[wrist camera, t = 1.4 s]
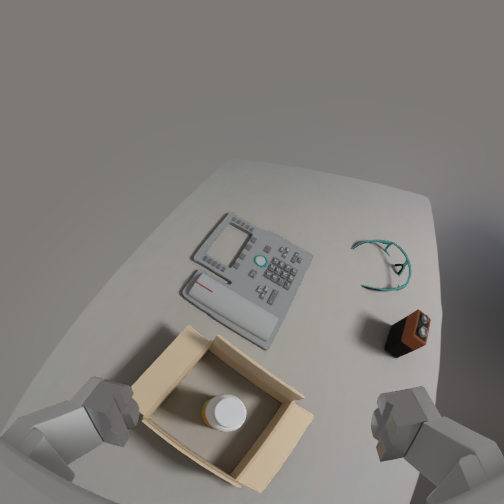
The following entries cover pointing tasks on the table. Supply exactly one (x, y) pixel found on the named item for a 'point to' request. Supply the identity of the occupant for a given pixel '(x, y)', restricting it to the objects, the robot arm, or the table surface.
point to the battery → (408, 334)
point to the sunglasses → (395, 264)
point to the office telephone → (249, 282)
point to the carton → (288, 415)
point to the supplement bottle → (223, 413)
